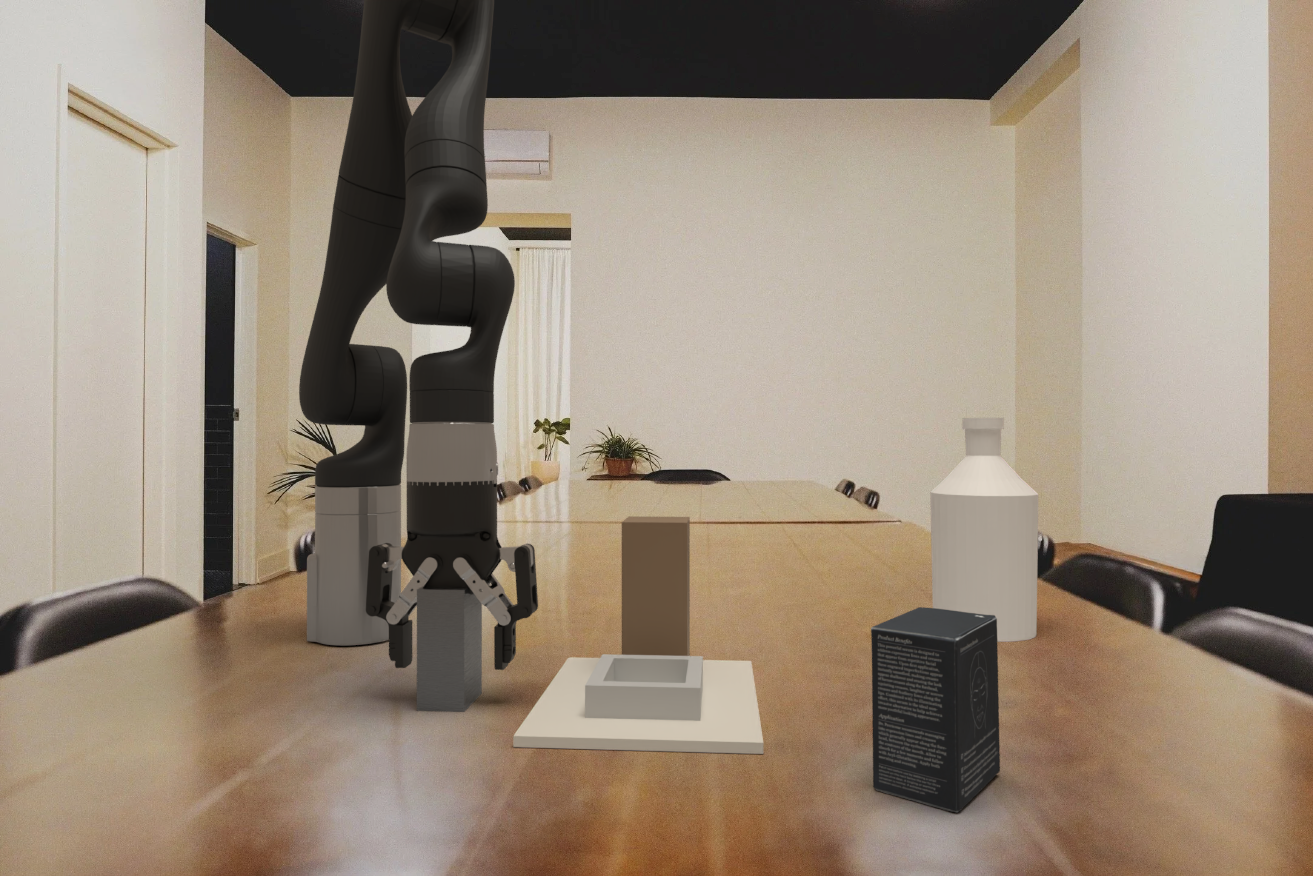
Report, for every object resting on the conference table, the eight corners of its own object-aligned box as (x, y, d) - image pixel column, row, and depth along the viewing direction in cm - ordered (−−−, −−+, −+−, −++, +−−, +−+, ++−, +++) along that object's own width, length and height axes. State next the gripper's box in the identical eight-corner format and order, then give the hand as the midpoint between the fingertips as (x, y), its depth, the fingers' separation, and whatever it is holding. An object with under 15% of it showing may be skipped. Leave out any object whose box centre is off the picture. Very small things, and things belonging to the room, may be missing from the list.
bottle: (1006, 647, 89) (1005, 415, 89) (910, 628, 98) (910, 418, 98) (1058, 631, 96) (1057, 418, 96) (964, 615, 105) (964, 420, 106)
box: (918, 754, 58) (918, 605, 58) (1001, 775, 55) (1000, 615, 55) (869, 790, 52) (868, 623, 52) (958, 816, 49) (957, 637, 49)
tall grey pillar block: (416, 710, 68) (416, 589, 68) (437, 692, 73) (437, 579, 73) (464, 712, 68) (464, 590, 68) (481, 693, 72) (481, 580, 73)
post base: (513, 747, 60) (513, 542, 60) (568, 665, 82) (568, 516, 82) (763, 754, 58) (763, 544, 58) (751, 669, 80) (751, 517, 80)
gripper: (352, 478, 67) (352, 678, 67) (524, 478, 66) (525, 680, 66) (388, 475, 75) (388, 655, 74) (543, 475, 74) (544, 657, 73)
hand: (452, 667), depth 70 cm, fingers open, 8 cm apart
